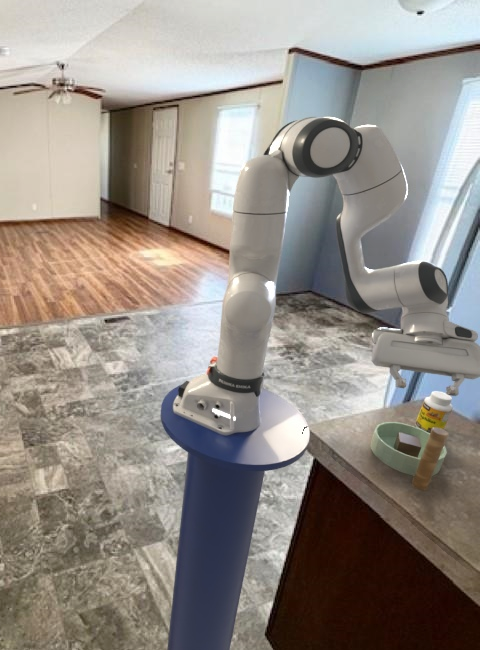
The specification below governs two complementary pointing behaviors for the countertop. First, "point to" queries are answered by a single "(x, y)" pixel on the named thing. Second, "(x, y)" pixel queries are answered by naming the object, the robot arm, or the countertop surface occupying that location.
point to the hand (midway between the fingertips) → (426, 391)
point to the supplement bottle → (434, 411)
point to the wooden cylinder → (429, 458)
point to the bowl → (386, 453)
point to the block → (408, 444)
